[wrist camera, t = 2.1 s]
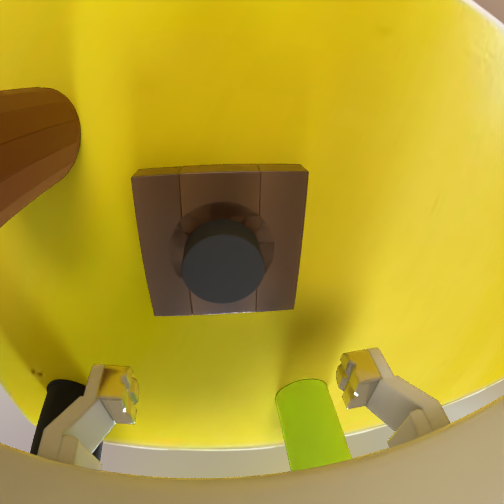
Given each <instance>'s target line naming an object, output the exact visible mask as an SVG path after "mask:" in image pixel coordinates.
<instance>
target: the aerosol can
mask: <svg viewBox="0 0 504 504" xmlns="http://www.w3.org/2000/svg"><path fill="white" fill-rule="evenodd" d="M85 388H86V386H83V385H81V384H78V383H75V382H72V381H67V380H55V381H52V382H50V383H49V384H48V386H47V395H46V398H45V402H44V405H43V408H42V411H41V414H40V418H39V421H38V424H37V428H36V432H35V435H34V439H33V443H32V447H31V451H30V453H31V454H34V455H37V454H38V450H39V446H40V442H41V438H42V435H43V431H44V429H45V428H46V427H47V426H48V425H49V424H50V423H51V422H52V421H53V420H54V419H56V418H57V417H58V416H59V415H60V414H61V413H62V412H63V411H64V410H65V409H67V408H68V407H69V406H70V405H71V404H72V403H73V402H74V401H75V400H76V399H78V398H79V397H80V396H84V392H85ZM102 444H103V440H102V442H101V443H100V444H99V445H98V447H97V448H96V449H95V450H94V452H93V453H92V454H93V455H94V456H95V457H96V458H97V459H98V460H99V461H100V457H101V451H102Z"/></svg>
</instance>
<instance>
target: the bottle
mask: <svg viewBox="0 0 504 504" xmlns="http://www.w3.org/2000/svg"><path fill="white" fill-rule="evenodd" d="M79 146H80V124H79V119H78V116H77V113H76V110H75V109H74V107H73V105H72V103H71V102H70V101H69V99H68V98H67V97H66V96H65V95H63V94H62V93H60V92H59V91H57V90H54V89H51V88H40V87H33V88H21V89H12V90H3V91H0V227H1V226H3V225H4V224H5V223H6V222H7V221H8V220H10V219H11V218H12V217H13V216H14V215H16V214H17V213H18V212H19V211H20V210H22V209H23V208H24V207H25V206H27V205H28V204H29V203H30V202H32V201H33V200H34V199H36V198H37V197H38V196H39V195H41V194H42V193H43V192H45V191H46V190H47V189H49V188H50V187H52V186H53V185H54V184H56V183H57V182H59V181H60V180H61V179H62V178H63V177H64V176H65V175H66V174H67V173H68V172H69V170H70V169H71V168H72V166H73V164H74V162H75V160H76V157H77V154H78V151H79Z"/></svg>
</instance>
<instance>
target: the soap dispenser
mask: <svg viewBox="0 0 504 504" xmlns="http://www.w3.org/2000/svg"><path fill="white" fill-rule="evenodd" d="M276 405H277V409H278V414H279V419H280V423H281V428H282V432H283V437H284V442H285V446H286V450H287V455H288V460H289V464H290V468H291V471H296V470H302V469H307V468H313V467H318V466H323V465H327V464H332V463H336V462H341V461H345V460H349V459H352V457H351V454H350V451H349V448H348V445H347V443H346V439H345V436H344V434H343V431H342V428H341V425H340V422H339V419H338V416H337V413H336V411H335V408H334V405H333V402H332V399H331V396H330V394H329V391H328V388H327V385H326V384H325V383H324V382H323V381H320V380H316V379H307V380H301V381H297V382H294V383H292V384H290V385H288V386H286V387H284V388H283V389H282V390H280V391H279V392H278V394H277V395H276Z"/></svg>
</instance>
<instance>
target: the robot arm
mask: <svg viewBox="0 0 504 504" xmlns="http://www.w3.org/2000/svg"><path fill="white" fill-rule="evenodd" d="M340 360H341V364H340V365H339V366H338V368H337V371H336V380H337V384H338V387H339V388H340V389H341V390H343V391H344V393H343V396H342V397H343V400H344V403H345V405H346V408H347V409H351V408H356V407H361V406H366V407H367V408H368V409H369V410H370V411H371V412H373V413H374V414H375V415H376V416H377V417H379V418H380V419H381V420H382V421H383V422H384V423H386V424H387V425H388V426H389V427H390V428H392V429H393V430H394V431H395V432H394V434H393V435H392V436H391V437H390V438H389V440H388V442H387V443H388V445H389V448H387V449H383V450H380V451H377V452H374V453H370V454H367V455H364V456H360V457H356V458H352V459H349V460H345V461H341V462H336V463H332V464H327V465H323V466H318V467H313V468H307V469H302V470H296V471H289V472H283V473H275V474H267V475H258V476H246V477H232V478H165V477H164V478H163V477H148V476H139V475H130V474H121V473H115V472H108V471H102V470H101V467H102V464H101V463H100V461H99V460H98V459H97V458H96V457H95V456H94V455H93V454H92V453H93V452H94V450H95V449H96V448H97V447H98V445H99V444H100V443H101V442H102V440H103V439H104V438H105V437H106V435H107V434H108V433H109V432H110V430H111V429H112V428H113V427H114V425H115V423H122V424H135V420H136V413H137V410H136V408H135V406H134V405H135V404H136V403H137V402H138V399H139V387H138V382H137V380H136V379H135V378H134V377H133V370H132V368H131V367H129V366H116V365H103V364H94V365H93V366H92V368H91V372H90V375H89V378H88V382H87V385H86V388H85V392H84V396H80V397H79V398H78V399H76V400H75V401H74V402H73V403H72V404H71V405H70V406H69V407H68V408H67V409H65V410H64V411H63V412H62V413H61V414H60V415H59V416H58V417H57V418H56V419H54V420H53V421H52V422H51V423H50V424H49V425H48V426H47V427H46V428H45V429H44V431H43V435H42V438H41V442H40V446H39V450H38V454H37V455H34V454H31V453H27V452H25V451H21V450H18V449H16V448H13V447H10V446H7V445H4V444H2V443H0V504H504V396H502V397H500V398H498V399H497V400H495V401H493V402H491V403H489V404H487V405H486V406H484V407H482V408H480V409H478V410H477V411H475V412H473V413H471V414H469V415H467V416H465V417H463V418H461V419H459V420H457V421H455V422H452V423H450V421H449V419H448V418H447V416H446V414H445V412H444V410H443V408H442V406H441V405H440V403H439V401H438V400H436V399H435V398H433V397H431V396H430V395H428V394H426V393H425V392H423V391H421V390H420V389H418V388H417V387H415V386H413V385H412V384H410V383H409V382H407V381H405V380H404V379H402V378H400V377H399V376H394V375H393V373H392V371H391V369H390V367H389V366H388V364H387V362H386V360H385V358H384V356H383V355H382V353H381V351H380V349H379V348H371V349H366V350H365V349H364V350H359V351H353V352H348V353H343V354H342V356H341V359H340Z"/></svg>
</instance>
